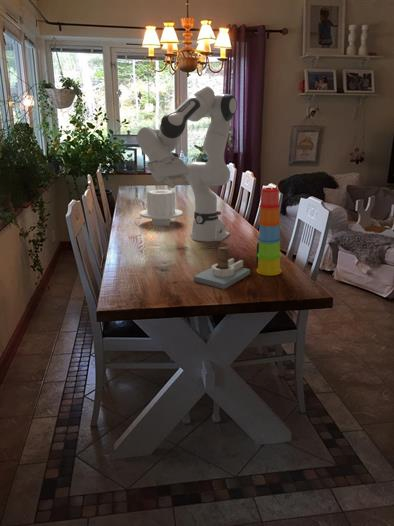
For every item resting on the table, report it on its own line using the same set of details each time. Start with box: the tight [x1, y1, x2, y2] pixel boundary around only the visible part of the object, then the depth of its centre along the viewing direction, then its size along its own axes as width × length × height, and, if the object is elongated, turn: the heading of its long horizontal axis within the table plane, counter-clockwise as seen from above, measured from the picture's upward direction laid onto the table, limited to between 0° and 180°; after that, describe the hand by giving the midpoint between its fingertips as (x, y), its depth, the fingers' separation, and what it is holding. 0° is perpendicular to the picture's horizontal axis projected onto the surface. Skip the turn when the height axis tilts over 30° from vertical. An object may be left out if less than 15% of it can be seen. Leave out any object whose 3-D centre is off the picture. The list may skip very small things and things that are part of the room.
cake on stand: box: [139, 189, 183, 227], centre depth 256 cm, size 25×25×19 cm
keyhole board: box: [193, 257, 251, 290], centre depth 175 cm, size 22×14×4 cm, turn 145°
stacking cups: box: [256, 187, 282, 277], centre depth 176 cm, size 10×10×35 cm
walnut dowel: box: [217, 246, 230, 269], centre depth 173 cm, size 4×4×10 cm
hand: (180, 185), depth 183 cm, fingers open, 8 cm apart
